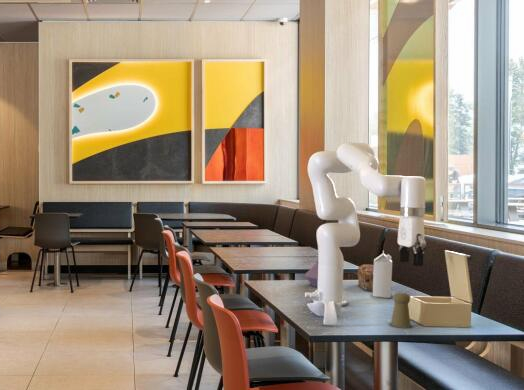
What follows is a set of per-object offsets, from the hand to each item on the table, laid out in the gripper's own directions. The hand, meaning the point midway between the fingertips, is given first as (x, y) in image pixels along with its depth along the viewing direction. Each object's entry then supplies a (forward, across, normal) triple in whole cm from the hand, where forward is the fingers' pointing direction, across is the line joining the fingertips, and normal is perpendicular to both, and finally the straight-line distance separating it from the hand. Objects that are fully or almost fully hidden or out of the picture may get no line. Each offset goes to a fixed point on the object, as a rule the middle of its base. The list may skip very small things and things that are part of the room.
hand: (410, 263), depth 211 cm
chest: (+21, -5, +13) cm, 25 cm away
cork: (+21, 0, -3) cm, 21 cm away
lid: (+5, -5, +19) cm, 20 cm away
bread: (+21, -71, +18) cm, 76 cm away
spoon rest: (+21, -8, -25) cm, 34 cm away
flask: (+21, -76, -4) cm, 78 cm away
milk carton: (+21, -52, +14) cm, 58 cm away
